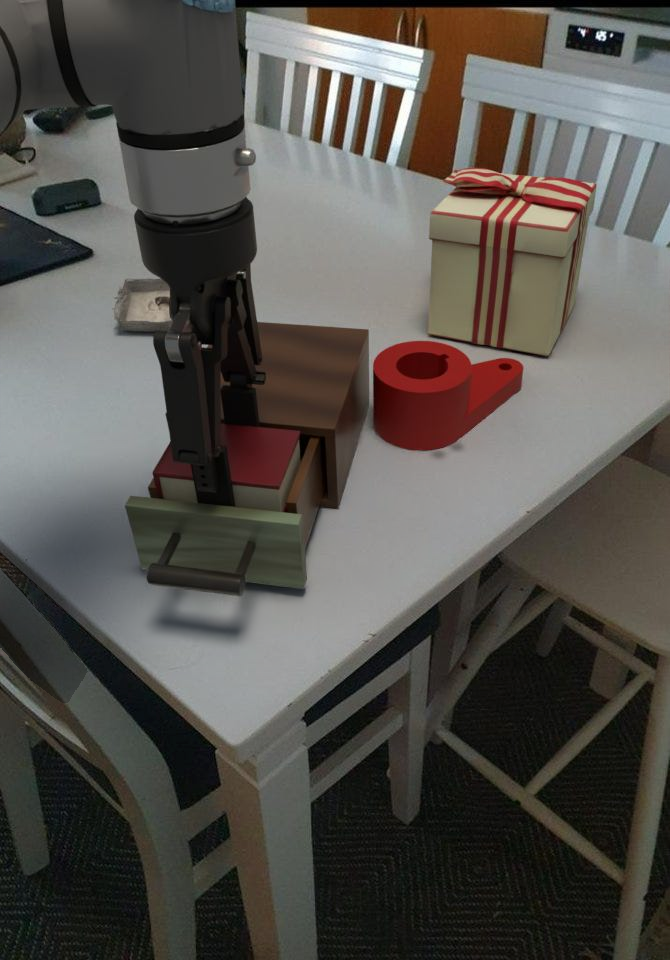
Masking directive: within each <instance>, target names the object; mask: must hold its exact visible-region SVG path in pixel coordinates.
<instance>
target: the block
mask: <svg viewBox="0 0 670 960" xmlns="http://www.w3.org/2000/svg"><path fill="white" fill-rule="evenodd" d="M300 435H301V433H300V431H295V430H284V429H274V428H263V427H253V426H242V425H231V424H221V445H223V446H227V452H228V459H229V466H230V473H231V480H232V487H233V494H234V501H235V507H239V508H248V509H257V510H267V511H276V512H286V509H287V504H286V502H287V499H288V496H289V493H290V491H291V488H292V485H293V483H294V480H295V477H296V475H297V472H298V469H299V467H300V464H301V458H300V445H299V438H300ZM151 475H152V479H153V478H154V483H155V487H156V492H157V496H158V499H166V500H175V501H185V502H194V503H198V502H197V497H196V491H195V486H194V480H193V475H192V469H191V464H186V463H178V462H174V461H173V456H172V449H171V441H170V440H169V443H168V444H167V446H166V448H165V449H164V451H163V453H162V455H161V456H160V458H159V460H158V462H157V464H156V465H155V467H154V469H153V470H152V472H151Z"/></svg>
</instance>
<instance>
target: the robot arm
mask: <svg viewBox="0 0 670 960" xmlns="http://www.w3.org/2000/svg"><path fill="white" fill-rule="evenodd" d="M243 98H244V97H243V85H242V74H241V62H240V49H239V35H238V25H237V11H236V0H0V136H1V135H2V134H4V133H5V132H6V131H7V130H9V128H10V127H11V126H12V125H13V124H14V123H15V121H17V119H18V118H20V116H22V114H23V113H24V112H25V111H29V110H42V109H44V110H45V109H59V108H62V109H63V108H81V107H82V108H91V107H93V108H95V107H97V106H104V105H105V106H111V109H112V112H113V116H114V118H115V121H116V123H115V124H116V129H117V134H118V140H119V146H120V153H121V159H122V163H123V169H124V174H125V179H126V186H127V191H128V197H129V201H130V203H131V204H132V205H133V206H134V207H136V211H135V212H134V215H133V220H134V225H135V230H136V235H137V241H138V245H139V251H140V256H141V261H142V263H143V266H144V268H145V269H146V270H147V271H148V272H149V273H151V274H152V275H154V276H156V277H157V278H158V279H162V280H163V281H165V282H166V283H167V284H168V285H169V287H170V298H169V315H170V318H171V320H172V321H173V323H172V325H171V327H170V329H169V331H159V330H157V331H154V332H153V337H152V344H153V348H154V351H155V354H156V357H157V360H158V363H159V366H160V372H161V381H162V388H163V394H164V403H165V411H166V412H167V419H168V424H167V427H168V426H169V429H168V433H169V442H170V441H171V449H172V456H173V461H174V462H178V463H186V464H191V469H192V475H193V480H194V486H195V491H196V497H197V502H198V503H203V504H212V505H221V506H230V507H235V501H234V494H233V487H232V480H231V473H230V466H229V459H228V452H227V446H223V445H221V399H222V406H223V413H224V420H225V424H231V425H242V426H253V427H260V424H259V415H258V406H257V397H256V388H252V384H256V385H264V384H265V380H266V372H264V371H256V368H255V365H260V364H261V362H262V358H263V357H262V352H261V345H260V338H259V331H258V325H257V322H258V318H257V311H256V305H255V297H254V291H253V285H252V271H251V270H252V269H251V267H252V266H251V264H252V263H253V262H254V260H255V258H256V256H257V253H258V243H257V233H256V223H255V212H254V204H253V202H252V201H251V200H250V199H249V198H248V195H249V194H250V192H251V188H252V187H251V178H250V169H249V168H250V167H251V166H253V165H254V164H255V163H256V161H257V155H256V152H255V150H254V149H253V148H250V147H249V148H247V142H246V138H247V137H246V127H245V126H246V122H245V113H244V111H245V110H244V99H243ZM203 345H204V346H208V345H212V348H207V347H203ZM250 349H251V350H250ZM220 370H221V373H222V376H223V379H224V381H225V382H230V386H228V385H223V386H222V388H221V376H220ZM167 419H166V420H167Z"/></svg>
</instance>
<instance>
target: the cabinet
mask: <svg viewBox="0 0 670 960" xmlns="http://www.w3.org/2000/svg"><path fill="white" fill-rule="evenodd" d="M257 325H258V331H259V338H260V345H261V352H262V357H263V358H262V362H261V364H260V365H255V368H256V371H264V372H266V380H265V384H264V385H256V384H252V388H256V397H257V406H258V415H259V424H260V427H263V428H274V429H284V430H295V431H300V433H301V434H302V435H313V436H324V437H325V447H326V466H327V483H326V486H325V489H324V492H323V496H322V499H321V502H320V505H319V508H327V509H336V510H338V509H339V508H340V504H341V501H342V498H343V494H344V491H345V488H346V484H347V481H348V477H349V474H350V470H351V467H352V464H353V460H354V458H355V453H356V451H357V447H358V444H359V441H360V437H361V434H362V431H363V426H364V424H365V420H366V416H367V413H368V410H369V406H370V336H369V335H370V330H369V329H367V328H354V327H353V328H352V327H339V326H338V327H337V326H326V325H325V326H324V325H323V326H322V325H309V324H294V323H282V322H281V323H280V322H267V321H266V322H265V321H257ZM206 348H212V345H206ZM250 350H251V349H250ZM220 376H221V388H222V386H223V385H228V386H230V382H225V381H224V379H223V376H222V373H221V370H220ZM165 418H166V423H167V428H168V430H169V426H168V419H167V411H166V412H165ZM221 424H225V420H224V413H223V406H222V399H221Z"/></svg>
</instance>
